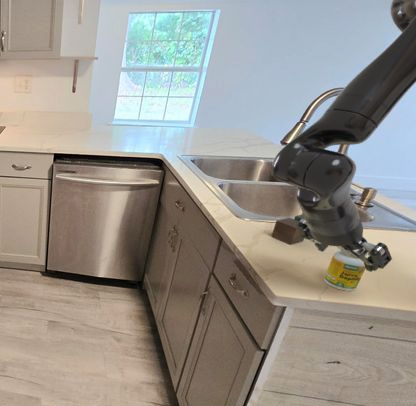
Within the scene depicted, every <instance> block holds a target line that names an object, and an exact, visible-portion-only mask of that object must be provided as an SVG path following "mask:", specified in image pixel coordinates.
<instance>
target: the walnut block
mask: <svg viewBox="0 0 416 406" xmlns="http://www.w3.org/2000/svg"><path fill="white" fill-rule="evenodd" d="M298 222H299V221H297V220H294V218H291V217H286V218H282V219H278V220H276V221H275V224H274V226H273V230H272V233H271V238H274V239H276V240H279V241H281V242H283V243H285V244H288V245H291V246H292V245H294V244H299V243H303V242H304V240H305V238H303V237H302V236H301V235H300V233H299V230H298V228H297V224H298Z"/></svg>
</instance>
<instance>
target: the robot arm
mask: <svg viewBox="0 0 416 406" xmlns="http://www.w3.org/2000/svg"><path fill="white" fill-rule="evenodd" d="M389 10H390V11H389V12H390V17H391V19H392V22H393V24H394V25H395V26H396V28H397V29H398V30H399V31H400V32H401V33H400V34H399V35H398V36H397V38H395V40H394V41H393V42H392V43H391V44H390V45H388V46H387V48H386V49H385V50H383V51H382V52H381V53H380V54H379V55H377V57H376V58H374V59H373V60H372V61H371V62H370V63H369V64H367V65H366V66H365V67H364V68H363V69H362V70H361V71H360V72H359V73H358V74H356V75H355V76H354V77H353V79H351V80H350V81H349V82H348V83H347V85H346V86H345V87H343V89H342V90H341V91H340V93H338V94H337V96H336V97H335V98H334V100H333V101H332V102H331V104H329V106H328V107H327V109H326V110H325V111H324V113H322V115H321V116H320V117H319V118H318V120H316V121H315V122H314V123H312V124H311V125H310V126H309V127H307V128H306V129H304V131H302V132H301V133H300V134H298V135H297V136H296V137H295V138H293V139H292V140H291V141H289V142H288V143H287V144H286V145H284V146H283V147H282V148H281V149H280V150H279V151H278V152H277V153H276V154H275V157H274V158H273V161H272V164H271V174H272V176H273V177H274V179H276V181H280V182H282V183H285V184H288V185H291V186H294V187H297V188H296V191H295V192H296V193H295V196H296V197H295V198H296V201H297V203H298V206H299V207H300V210H301V212H302V214H303V218H302V219H301V220H300V221H299V222H298V224H297V228H298V230H299V233H300V235H301V236H302V237H303V238H304V239H307V237H308V238H310V240H309V241H310V242H311V243H312V244H314V246H315V247H316V248H317V250H318V251H320V252H322V253H323V252H324V251H325V250H327V248H328V247H329V246H330V247H337V248H338V249H339V250H340V251H341V250H344V251H345V252H347V253H348V254H349V255H351V256H352V257H353V258H359V259H360V260H362V261H363V262H364V265H365V268H366V269H365V271H368V272H370V273H372V272H377V270H378V269H381V270H383V269H384V268H386V266H387V265H388V264H389V263H390V262H391V261H392V260H393V257H392V255H391V252H390V250H389V248H388V246H387V244H385V243H383V242H378V243H376V244H373V243H370V242H368V241H367V239H366V238H365V237H364V236H363V235H364V226H363V223H362V219H361V217H360V213H359V210H358V208H357V206H356V204H355V203H354V201H353V199H352V195H351V193H350V192H351V187H352V186H351V185H352V182H353V180H354V177H355V175H356V173H357V164H356V163H355V161H354V160H353V159H352V158H351V157H350V156H349V155H347V154H345V153H342V152H339V151H334V150H329V149H327V148H329V147H332V146H340V145H341V146H342V145H343V146H345V145H346V146H350V145H360V144H363V143H364V142H366V141H368V139H370V137H371V136H372V135H373V134H374V133H375V132H376V130H377V129H378V128H379V126H380V125H381V124H382V123H383V121H384V120H385V119H386V118H387V117H388V116H389V114H390V113H391V112H392V111H393V110H394V108H395V107H396V106H397V104H398V103H399V102H400V101H401V100H402V99H403V98H404V96H406V94H407V93H408V92H409V91H410V89H411V88H412V87H413V86H414V85H415V84H416V0H392V1H391V5H390V9H389ZM358 249H359V250H358ZM353 250H358V251H357V252H356V253H355V252H354V251H353ZM367 252H368V253H367ZM366 253H367V256H368V257H367V256H365V254H366Z"/></svg>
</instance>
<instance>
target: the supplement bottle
mask: <svg viewBox="0 0 416 406" xmlns="http://www.w3.org/2000/svg"><path fill="white" fill-rule="evenodd" d="M358 250H359V249H358ZM358 250H353V251H354V252H355V253H356V252H357V251H358ZM367 256H368V252H367V253H366V254H365V257H367ZM365 271H366V268H365V265H364V262H363V261H362V260H360V259H359V258H353V257H352V256H351V255H349V254H348V253H347V252H345V251H344V250H341V249H340V250H338V251H337V250H336V252H334V253H333V255H332V258H331V260H330V263H329V265H328V268H327V270H326V272H325V275H324V278H323V280H324V282H325V283H326V285H328V286H330V287H332V288H334V289H337V290H340V291H346V292H352V291H355V290H356V289H357V288H358V285H359V283H360V281H361V279H362V277H363V275H364V273H365Z"/></svg>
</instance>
